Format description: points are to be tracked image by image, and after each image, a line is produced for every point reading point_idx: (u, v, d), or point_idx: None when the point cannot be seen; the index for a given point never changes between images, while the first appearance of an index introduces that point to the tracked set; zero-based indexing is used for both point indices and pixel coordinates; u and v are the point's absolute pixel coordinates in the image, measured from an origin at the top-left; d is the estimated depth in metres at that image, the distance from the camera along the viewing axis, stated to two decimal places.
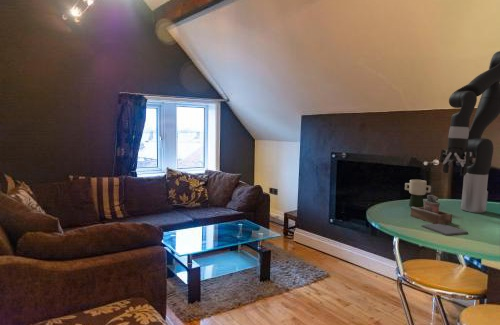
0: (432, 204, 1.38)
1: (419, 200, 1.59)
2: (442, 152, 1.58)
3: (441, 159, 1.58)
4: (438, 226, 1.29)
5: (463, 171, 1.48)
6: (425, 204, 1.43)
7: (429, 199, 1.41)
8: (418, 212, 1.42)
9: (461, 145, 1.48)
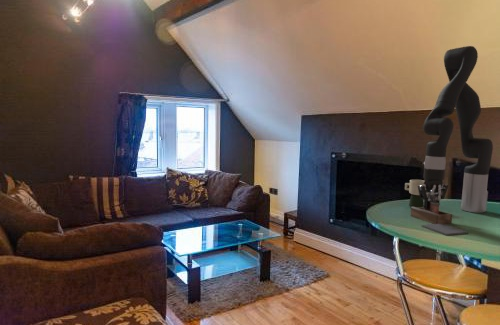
0: (432, 204, 1.38)
1: (419, 200, 1.59)
2: (424, 188, 1.37)
3: (425, 196, 1.38)
4: (438, 226, 1.29)
5: None
6: None
7: None
8: (418, 212, 1.42)
9: None
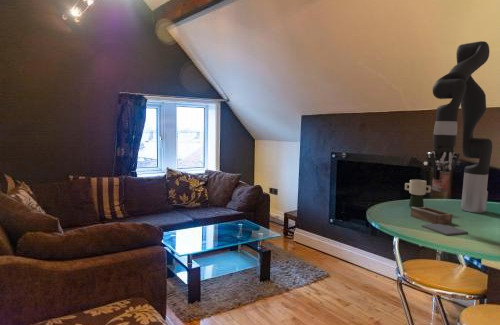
0: (442, 173, 1.28)
1: (419, 200, 1.59)
2: (433, 156, 1.27)
3: (434, 164, 1.27)
4: (438, 226, 1.29)
5: None
6: None
7: None
8: (418, 212, 1.42)
9: None
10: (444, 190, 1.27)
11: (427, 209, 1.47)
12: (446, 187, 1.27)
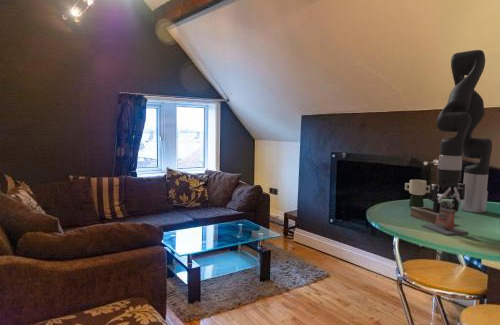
0: (447, 211, 1.24)
1: (419, 200, 1.59)
2: (437, 188, 1.22)
3: (436, 197, 1.23)
4: None
5: (457, 206, 1.27)
6: None
7: (443, 205, 1.27)
8: (418, 212, 1.42)
9: None
10: (450, 229, 1.23)
11: (427, 209, 1.47)
12: (452, 226, 1.23)
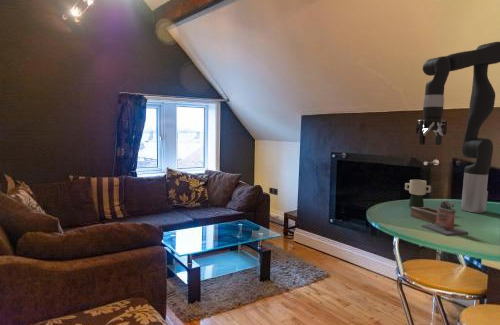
0: (447, 211, 1.24)
1: (419, 200, 1.59)
2: (422, 122, 1.44)
3: (421, 130, 1.44)
4: None
5: (440, 140, 1.48)
6: (438, 211, 1.29)
7: (443, 205, 1.27)
8: (418, 212, 1.42)
9: None
10: (450, 229, 1.23)
11: (427, 209, 1.47)
12: (452, 226, 1.23)
